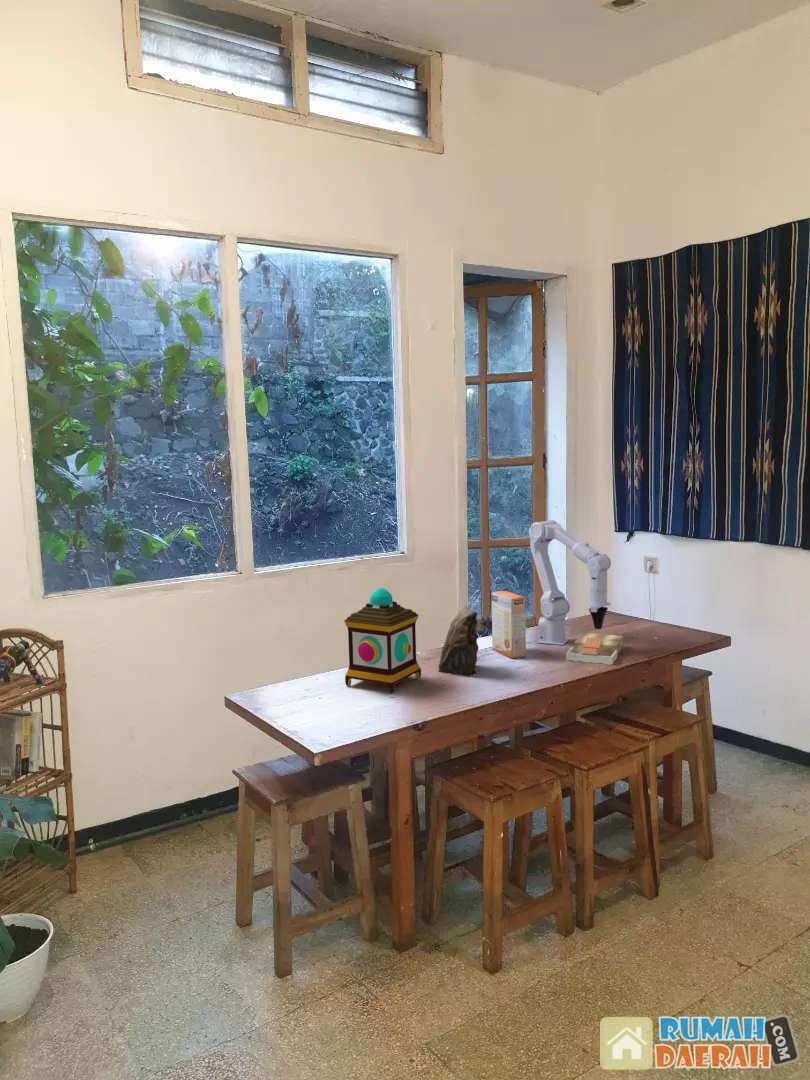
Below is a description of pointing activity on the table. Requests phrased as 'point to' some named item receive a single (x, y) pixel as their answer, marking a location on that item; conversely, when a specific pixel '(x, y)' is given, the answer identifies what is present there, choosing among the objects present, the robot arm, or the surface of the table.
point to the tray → (590, 657)
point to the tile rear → (593, 643)
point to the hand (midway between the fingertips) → (598, 628)
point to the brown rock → (460, 645)
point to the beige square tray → (608, 643)
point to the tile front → (589, 651)
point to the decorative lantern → (382, 642)
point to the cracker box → (509, 624)
